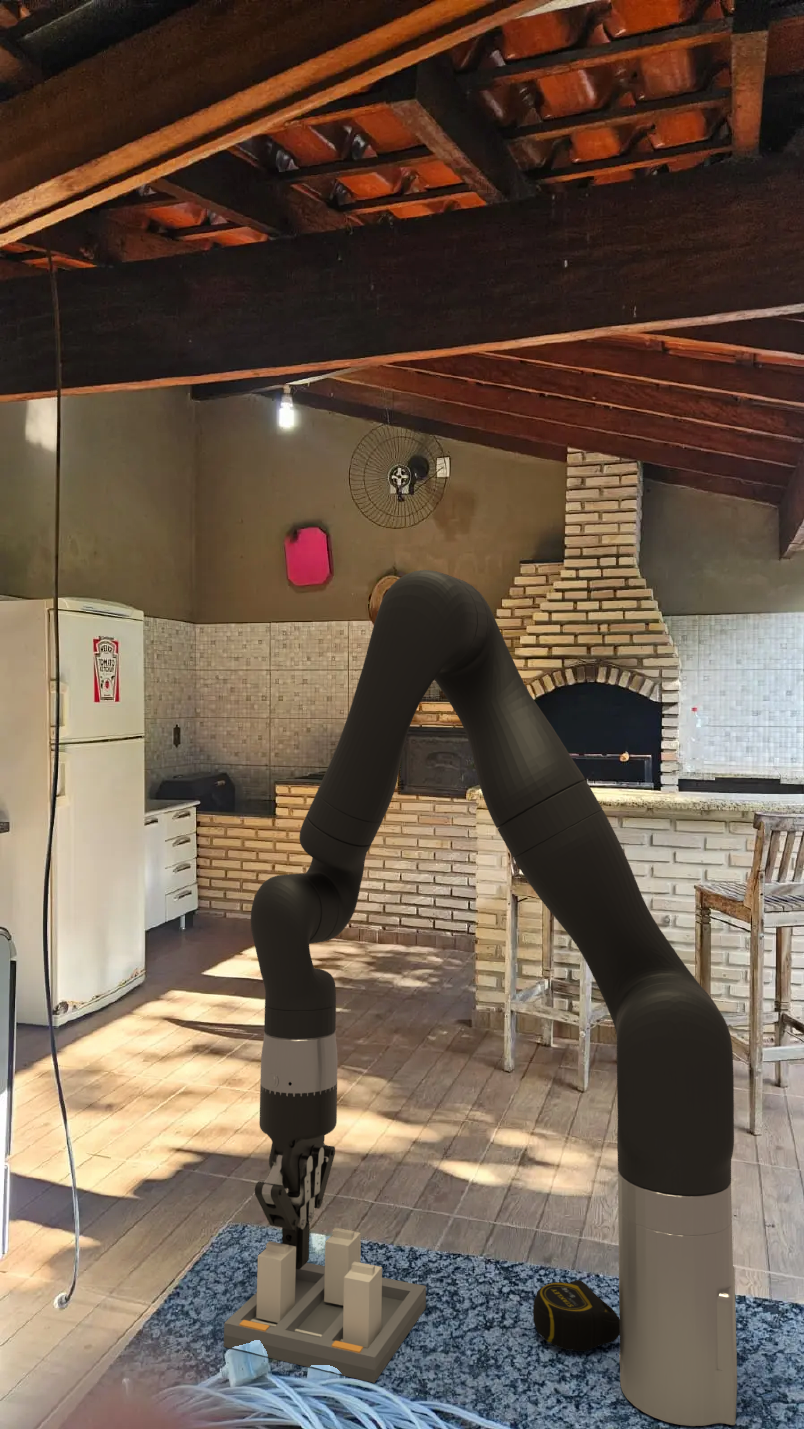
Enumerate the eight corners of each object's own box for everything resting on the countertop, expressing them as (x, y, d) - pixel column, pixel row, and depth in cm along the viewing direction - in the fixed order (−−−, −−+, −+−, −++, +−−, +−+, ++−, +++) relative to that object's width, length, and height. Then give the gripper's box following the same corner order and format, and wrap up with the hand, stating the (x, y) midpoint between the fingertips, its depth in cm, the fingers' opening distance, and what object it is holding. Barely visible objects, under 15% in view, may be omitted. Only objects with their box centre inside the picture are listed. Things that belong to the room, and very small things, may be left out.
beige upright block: (360, 1291, 92) (361, 1226, 93) (347, 1306, 89) (348, 1239, 90) (337, 1286, 93) (338, 1222, 94) (324, 1301, 90) (325, 1234, 91)
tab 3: (294, 1307, 89) (296, 1239, 90) (279, 1323, 86) (281, 1253, 87) (272, 1302, 90) (273, 1235, 91) (256, 1317, 87) (258, 1248, 88)
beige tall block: (381, 1330, 85) (382, 1260, 86) (368, 1348, 82) (369, 1274, 83) (356, 1325, 86) (357, 1255, 87) (342, 1342, 83) (344, 1270, 84)
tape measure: (623, 1353, 85) (623, 1309, 85) (554, 1366, 83) (554, 1320, 83) (586, 1314, 91) (586, 1273, 92) (521, 1325, 89) (521, 1283, 90)
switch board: (425, 1307, 92) (426, 1284, 92) (374, 1382, 80) (374, 1355, 80) (291, 1280, 97) (291, 1258, 97) (223, 1346, 85) (224, 1321, 85)
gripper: (302, 1102, 86) (298, 1305, 84) (360, 1066, 98) (358, 1242, 97) (230, 1092, 89) (225, 1289, 87) (295, 1058, 101) (292, 1230, 99)
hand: (295, 1264), depth 92 cm, fingers closed
